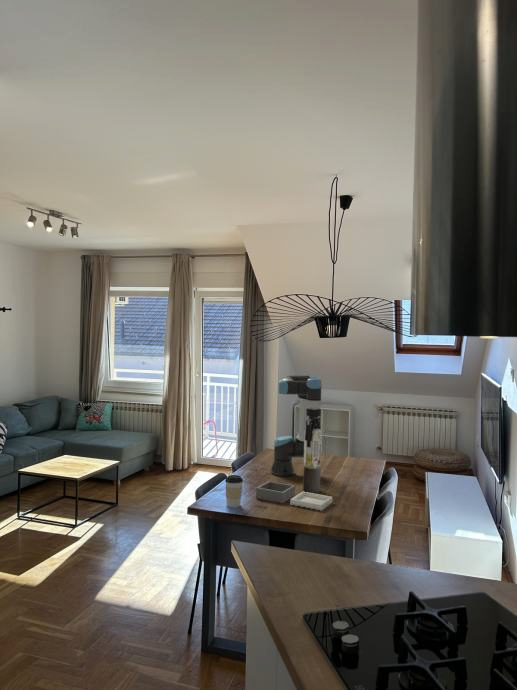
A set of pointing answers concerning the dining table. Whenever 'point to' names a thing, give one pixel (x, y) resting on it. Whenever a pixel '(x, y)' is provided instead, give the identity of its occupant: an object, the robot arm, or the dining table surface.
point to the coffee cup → (233, 490)
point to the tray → (311, 500)
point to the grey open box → (275, 491)
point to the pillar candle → (311, 479)
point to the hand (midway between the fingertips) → (312, 451)
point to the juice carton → (313, 450)
